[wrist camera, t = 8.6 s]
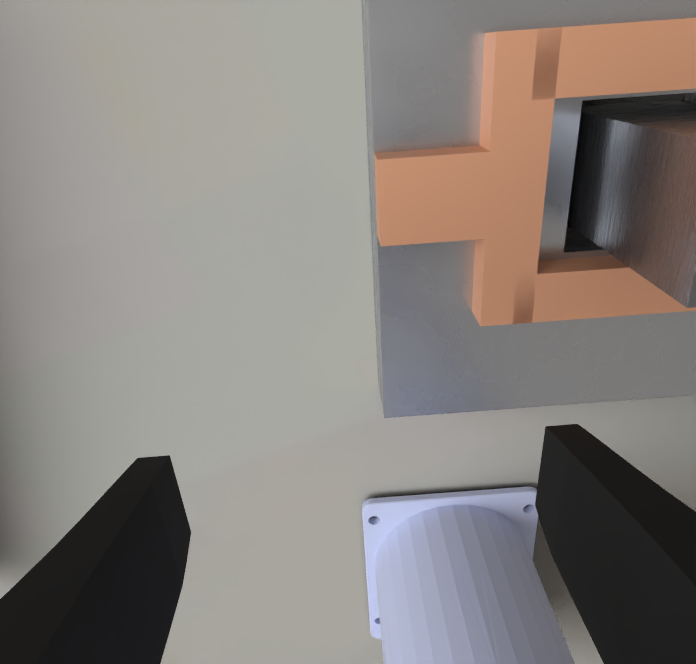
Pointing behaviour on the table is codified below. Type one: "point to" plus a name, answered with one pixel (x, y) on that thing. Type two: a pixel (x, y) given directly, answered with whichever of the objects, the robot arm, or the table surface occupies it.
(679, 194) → the grey rectangular box
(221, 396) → the table surface
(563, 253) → the silver base plate
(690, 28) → the bracket
